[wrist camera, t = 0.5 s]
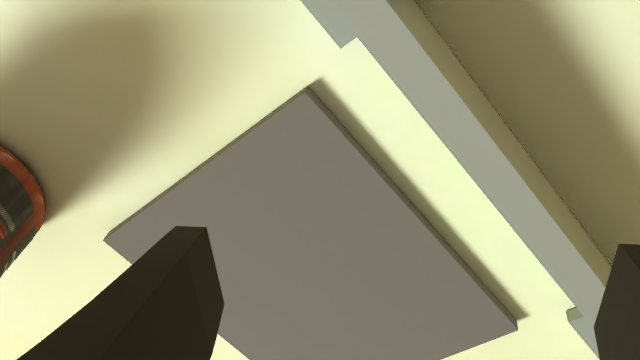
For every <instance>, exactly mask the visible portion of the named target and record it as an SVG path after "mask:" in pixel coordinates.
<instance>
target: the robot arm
mask: <svg viewBox="0 0 640 360" xmlns="http://www.w3.org/2000/svg"><path fill="white" fill-rule="evenodd" d="M223 308H224V299H223V295H222V291H221V287H220V282H219V278H218V274H217V269H216V265H215V261H214V257H213V252H212V248H211V244H210V239H209V235H208V231H207V227H193V226H175V227H174V228H173V229H172V230H170V231H169V232H168V233H167V234H166V235H165V236H163V237H162V238H161V239H160V240H159V241H158V242H157V243H156V244H155V245H153V246H152V247H151V248H150V249H149V250H148V251H147V252H146V253H145V254H144V255H142V256H141V257H140V258H139V259H138V260H137V261H136V262H135V263H134V264H132V265H131V266H130V267H129V268H128V269H127V270H126V271H125V272H124V273H122V274H121V275H120V276H119V277H118V278H117V279H116V280H114V281H113V282H112V283H111V284H110V285H109V286H108V287H106V288H105V289H104V290H103V291H102V292H101V293H100V294H98V295H97V296H96V297H95V298H94V299H93V300H92V301H90V302H89V303H88V304H87V305H86V306H84V307H83V308H82V309H81V310H79V311H78V312H77V313H76V314H74V315H73V316H72V317H71V318H69V319H68V320H67V321H66V322H64V323H63V324H62V325H61V326H60V327H58V328H57V329H56V330H55V331H53V332H52V333H51V334H50V335H48V336H47V337H46V338H45V339H43V340H42V341H41V342H40V343H38V344H37V345H36V346H34V347H33V348H32V349H30V350H29V351H28V352H26V353H25V354H24V355H22V356H21V357H19V358H18V359H17V360H210V358H211V355H212V352H213V348H214V344H215V341H216V337H217V333H218V329H219V325H220V321H221V317H222V313H223ZM594 332H595V337H596V343H597V348H598V353H599V359H600V360H640V245H631V244H619V245H618V249H617V252H616V255H615V258H614V262H613V265H612V268H611V272H610V275H609V278H608V281H607V285H606V288H605V291H604V295H603V298H602V301H601V304H600V308H599V311H598V314H597V318H596V321H595V324H594Z"/></svg>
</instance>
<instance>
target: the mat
mask: <svg viewBox="0 0 640 360" xmlns="http://www.w3.org/2000/svg"><path fill="white" fill-rule="evenodd" d="M175 226H193V227H207V231H208V235H209V239H210V244H211V248H212V252H213V257H214V261H215V265H216V269H217V274H218V278H219V282H220V287H221V291H222V295H223V299H224V308H223V313H222V317H221V321H220V325H219V329H218V334H219V335H220V336H221V337H222V338H224V339H225V340H226V341H227V342H229V343H230V344H231V345H232V346H234V347H235V348H236V349H237V350H239V351H240V352H241V353H242V354H243V355H245V356H246V357H247V358H248V359H250V360H441V359H443V358H446V357H449V356H451V355H454V354H457V353H459V352H462V351H465V350H467V349H470V348H472V347H475V346H478V345H480V344H483V343H486V342H488V341H491V340H494V339H496V338H499V337H501V336H504V335H507V334H509V333H512V332H515V331H517V330H518V327H517V321H516V320H515V319H514V318H513V317H512V316H511V314H510V313H509V312H508V311H507V310H506V309H505V308H504V307H503V305H502V304H501V303H500V302H499V301H498V300H497V299H496V298H495V296H494V295H493V294H492V293H491V292H490V291H489V290H488V289H487V287H486V286H485V285H484V284H483V283H482V282H481V281H480V280H479V278H478V277H477V276H476V275H475V274H474V273H473V272H472V271H471V269H470V268H469V267H468V266H467V265H466V264H465V263H464V262H463V260H462V259H461V258H460V257H459V256H458V255H457V254H456V253H455V251H454V250H453V249H452V248H451V247H450V246H449V245H448V244H447V242H446V241H445V240H444V239H443V238H442V237H441V236H440V235H439V233H438V232H437V231H436V230H435V229H434V228H433V227H432V226H431V224H430V223H429V222H428V221H427V220H426V219H425V218H424V217H423V215H422V214H421V213H420V212H419V211H418V210H417V209H416V208H415V206H414V205H413V204H412V203H411V202H410V201H409V200H408V199H407V197H406V196H405V195H404V194H403V193H402V192H401V191H400V190H399V188H398V187H397V186H396V185H395V184H394V183H393V182H392V181H391V179H390V178H389V177H388V176H387V175H386V174H385V173H384V172H383V170H382V169H381V168H380V167H379V166H378V165H377V164H376V163H375V161H374V160H373V159H372V158H371V157H370V156H369V155H368V154H367V152H366V151H365V150H364V149H363V148H362V147H361V146H360V145H359V143H358V142H357V141H356V140H355V139H354V138H353V137H352V136H351V134H350V133H349V132H348V131H347V130H346V129H345V128H344V127H343V125H342V124H341V123H340V122H339V121H338V120H337V119H336V118H335V116H334V115H333V114H332V113H331V112H330V111H329V110H328V109H327V107H326V106H325V105H324V104H323V103H322V102H321V101H320V100H319V98H318V97H317V96H316V95H315V94H314V93H313V92H312V91H311V89H310V88H309V87H308V86H307V87H306V88H304V89H303V90H302V91H300V92H299V93H298V94H296V95H295V96H294V97H292V98H291V99H289V100H288V101H287V102H285V103H284V104H283V105H281V106H280V107H279V108H277V109H276V110H275V111H273V112H272V113H270V114H269V115H268V116H266V117H265V118H264V119H262V120H261V121H260V122H258V123H257V124H256V125H254V126H253V127H251V128H250V129H249V130H247V131H246V132H245V133H243V134H242V135H241V136H239V137H238V138H237V139H235V140H234V141H232V142H231V143H230V144H228V145H227V146H226V147H224V148H223V149H222V150H220V151H219V152H218V153H216V154H215V155H213V156H212V157H211V158H209V159H208V160H207V161H205V162H204V163H203V164H201V165H200V166H199V167H197V168H196V169H195V170H193V171H192V172H190V173H189V174H188V175H186V176H185V177H184V178H182V179H181V180H180V181H178V182H177V183H176V184H174V185H173V186H171V187H170V188H169V189H167V190H166V191H165V192H163V193H162V194H161V195H159V196H158V197H157V198H155V199H154V200H152V201H151V202H150V203H148V204H147V205H146V206H144V207H143V208H142V209H140V210H139V211H138V212H136V213H135V214H133V215H132V216H131V217H129V218H128V219H127V220H125V221H124V222H123V223H121V224H120V225H119V226H117V227H116V228H114V229H113V230H112V231H110V232H109V233H108V234H107V235H106V237H105V238H104V240H103V241H104V242H105V243H107V244H108V245H109V246H110V247H112V248H113V249H114V250H115V251H117V252H118V253H119V254H120V255H121V256H123V257H124V258H125V259H126V260H128V261H129V262H130V263H131V264H134V263H135V262H136V261H137V260H138V259H139V258H140V257H141V256H142V255H144V254H145V253H146V252H147V251H148V250H149V249H150V248H151V247H152V246H153V245H155V244H156V243H157V242H158V241H159V240H160V239H161V238H162V237H163V236H165V235H166V234H167V233H168V232H169V231H170V230H172V229H173V228H174V227H175Z"/></svg>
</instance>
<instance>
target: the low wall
mask: <svg viewBox="0 0 640 360" xmlns="http://www.w3.org/2000/svg"><path fill="white" fill-rule="evenodd" d="M301 2H302V3H303V4H304V5H305V6H306V8H307V9H308V10H309V11H310V12H311V14H312V15H313V16H314V17H315V18H316V20H317V21H318V22H319V23H320V24H321V26H322V27H323V28H324V29H325V30H326V32H327V33H328V34H329V35H330V36H331V38H332V39H333V40H334V41H335V42H336V44H337V45H338V46H339V47H340V48H342V47H344V46H345V45H346V44H348V43H349V42H350V41H352V40H353V39H354V38H356V37H358V38H359V40H360V41H361V42H362V43H363V45H364V46H365V47H366V48H367V50H368V51H369V52H370V53H371V54H372V56H373V57H374V58H375V59H376V61H377V62H378V63H379V64H380V66H381V67H382V68H383V69H384V71H385V72H386V73H387V74H388V75H389V77H390V78H391V79H392V80H393V82H394V83H395V84H396V85H397V87H398V88H399V89H400V90H401V91H402V93H403V94H404V95H405V96H406V98H407V99H408V100H409V101H410V103H411V104H412V105H413V106H414V107H415V109H416V110H417V111H418V112H419V114H420V115H421V116H422V117H423V119H424V120H425V121H426V122H427V124H428V125H429V126H430V127H431V128H432V130H433V131H434V132H435V133H436V135H437V136H438V137H439V138H440V140H441V141H442V142H443V143H444V144H445V146H446V147H447V148H448V149H449V151H450V152H451V153H452V154H453V156H454V157H455V158H456V159H457V161H458V162H459V163H460V164H461V165H462V167H463V168H464V169H465V170H466V172H467V173H468V174H469V175H470V177H471V178H472V179H473V180H474V181H475V183H476V184H477V185H478V186H479V188H480V189H481V190H482V191H483V193H484V194H485V195H486V196H487V197H488V199H489V200H490V201H491V202H492V204H493V205H494V206H495V207H496V209H497V210H498V211H499V212H500V214H501V215H502V216H503V217H504V218H505V220H506V221H507V222H508V223H509V225H510V226H511V227H512V228H513V230H514V231H515V232H516V233H517V234H518V236H519V237H520V238H521V239H522V241H523V242H524V243H525V244H526V246H527V247H528V248H529V249H530V251H531V252H532V253H533V254H534V255H535V257H536V258H537V259H538V260H539V262H540V263H541V264H542V265H543V267H544V268H545V269H546V270H547V271H548V273H549V274H550V275H551V276H552V278H553V279H554V280H555V281H556V283H557V284H558V285H559V286H560V287H561V289H562V290H563V291H564V292H565V294H566V295H567V296H568V297H569V299H570V300H571V301H572V302H573V304H574V305H575V306H576V308H573V309H571V310H568V311H566V314H567V318H568V322H569V323H570V324H571V326H572V327H573V328H574V329H575V330H576V332H577V333H578V334H579V335H580V336H581V338H582V339H583V340H584V341H585V342H586V344H587V345H588V346H589V347H590V348H591V350H592V351H593V352H594V353H595V354H596V356H597V357H598V358H599V353H598V348H597V343H596V337H595V332H594V324H595V321H596V318H597V314H598V311H599V308H600V304H601V301H602V298H603V295H604V291H605V288H606V285H607V281H608V278H609V275H610V272H611V268H612V267H611V265H610V264H609V263H608V261H607V260H606V259H605V257H604V256H603V255H602V253H601V252H600V251H599V249H598V248H597V247H596V245H595V244H594V243H593V241H592V240H591V238H590V237H589V236H588V234H587V233H586V232H585V230H584V229H583V228H582V226H581V225H580V224H579V222H578V221H577V220H576V218H575V217H574V216H573V214H572V213H571V211H570V210H569V209H568V207H567V206H566V205H565V203H564V202H563V201H562V199H561V198H560V197H559V195H558V194H557V193H556V191H555V190H554V189H553V187H552V186H551V185H550V183H549V182H548V180H547V179H546V178H545V176H544V175H543V174H542V172H541V171H540V170H539V168H538V167H537V166H536V164H535V163H534V162H533V160H532V159H531V158H530V156H529V155H528V153H527V152H526V151H525V149H524V148H523V147H522V145H521V144H520V143H519V141H518V140H517V139H516V137H515V136H514V135H513V133H512V132H511V131H510V129H509V128H508V126H507V125H506V124H505V122H504V121H503V120H502V118H501V117H500V116H499V114H498V113H497V112H496V110H495V109H494V108H493V106H492V105H491V104H490V102H489V101H488V100H487V98H486V97H485V95H484V94H483V93H482V91H481V90H480V89H479V87H478V86H477V85H476V83H475V82H474V81H473V79H472V78H471V77H470V75H469V74H468V73H467V71H466V70H465V68H464V67H463V66H462V64H461V63H460V62H459V60H458V59H457V58H456V56H455V55H454V54H453V52H452V51H451V50H450V48H449V47H448V46H447V44H446V43H445V41H444V40H443V39H442V37H441V36H440V35H439V33H438V32H437V31H436V29H435V28H434V27H433V25H432V24H431V23H430V21H429V20H428V19H427V17H426V16H425V15H424V13H423V12H422V10H421V9H420V8H419V6H418V5H417V4H416V2H415V1H414V0H301Z"/></svg>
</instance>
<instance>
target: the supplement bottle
mask: <svg viewBox="0 0 640 360" xmlns="http://www.w3.org/2000/svg"><path fill="white" fill-rule="evenodd" d="M44 218H45V201H44V196H43V193H42V191H41V189H40V187H39V184H38V183H37V181H36V180H35V178H34V177H33V175H32V174H31V173H30V171H29V170H28V169H27V168H26V167H25V165H24V164H22V163H21V162H20V160H19V159H17V158H16V157H15V156H14V155H12V154H11V153H10V152H9V151H7V150H6V149H4V148H2V147H1V146H0V277H1V276H2V275H3V273H4V272H5V271H6V270H7V269H8V268H9V266H10V265H11V264H12V263H13V261H14V260H15V259H16V258H17V257H18V256H19V255H20V253H21V252H22V251H23V250H24V249H25V247H26V246H27V245H28V244H29V243H30V242H31V240H32V239H33V237H34V236H35V234H36V233H37V232H38V231H39V230H40V228H41V226H42V224H43V221H44Z"/></svg>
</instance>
